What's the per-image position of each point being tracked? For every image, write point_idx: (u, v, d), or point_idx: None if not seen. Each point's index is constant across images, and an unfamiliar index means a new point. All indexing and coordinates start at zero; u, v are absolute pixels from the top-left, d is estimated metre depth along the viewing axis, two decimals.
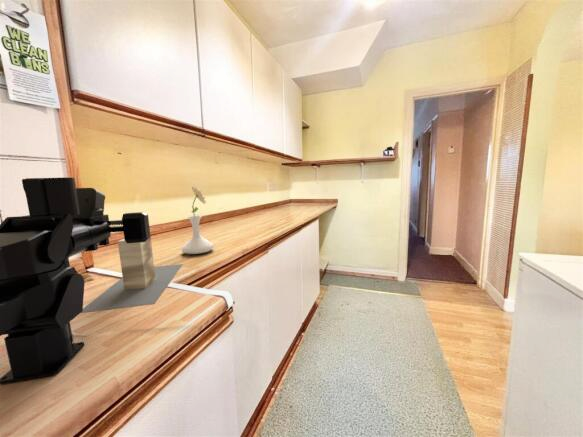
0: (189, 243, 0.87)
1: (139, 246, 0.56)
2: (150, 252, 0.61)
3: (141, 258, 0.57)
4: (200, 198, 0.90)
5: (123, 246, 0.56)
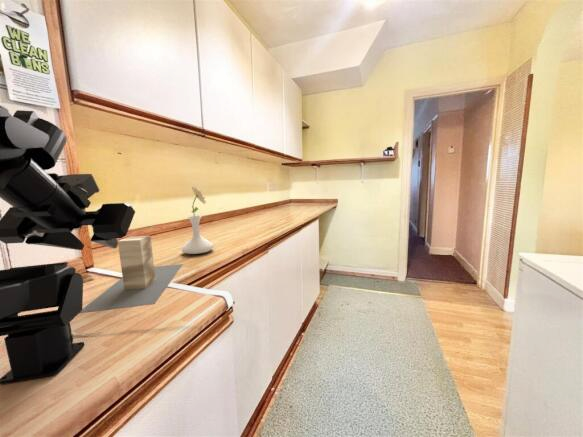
0: (189, 243, 0.87)
1: (139, 246, 0.56)
2: (150, 252, 0.61)
3: (141, 258, 0.57)
4: (200, 198, 0.90)
5: (123, 246, 0.56)
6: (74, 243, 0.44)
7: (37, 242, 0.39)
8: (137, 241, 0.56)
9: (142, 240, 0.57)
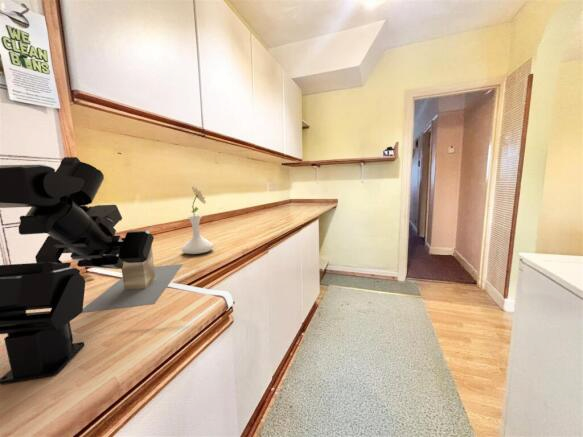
0: (189, 243, 0.87)
1: None
2: (150, 252, 0.61)
3: None
4: (200, 198, 0.90)
5: None
6: None
7: (87, 265, 0.45)
8: None
9: None
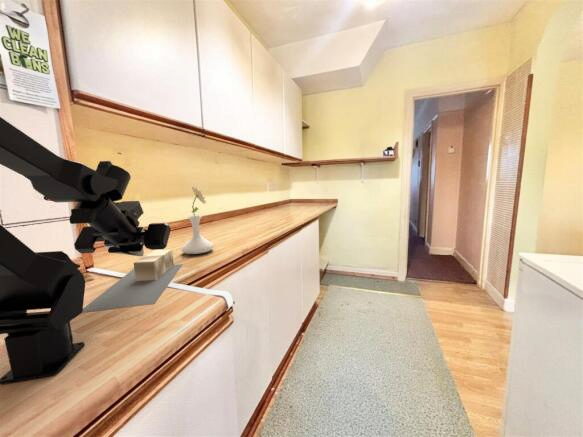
0: (189, 243, 0.87)
1: (169, 250, 0.73)
2: (167, 266, 0.71)
3: (165, 253, 0.70)
4: (200, 198, 0.90)
5: (157, 251, 0.72)
6: None
7: (116, 251, 0.54)
8: (169, 249, 0.74)
9: (172, 252, 0.74)
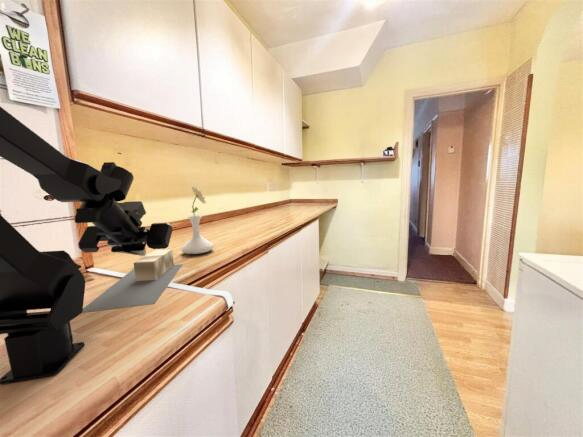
0: (189, 243, 0.87)
1: (169, 250, 0.73)
2: (167, 266, 0.71)
3: (165, 253, 0.70)
4: (200, 198, 0.90)
5: (157, 251, 0.72)
6: None
7: (119, 251, 0.55)
8: (169, 249, 0.74)
9: (172, 252, 0.74)
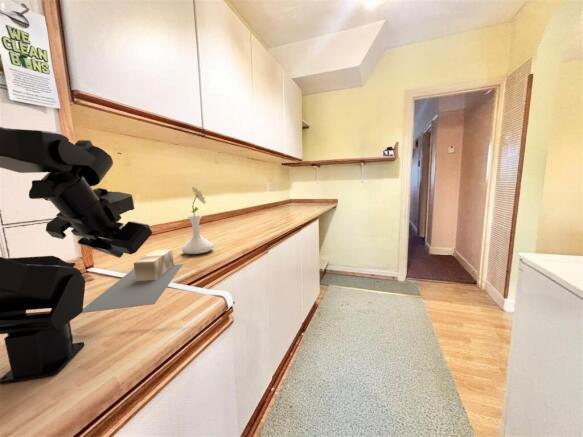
0: (189, 243, 0.87)
1: (169, 250, 0.73)
2: (167, 266, 0.71)
3: (165, 253, 0.70)
4: (200, 198, 0.90)
5: (157, 251, 0.72)
6: None
7: (85, 244, 0.46)
8: (169, 249, 0.74)
9: (172, 252, 0.74)
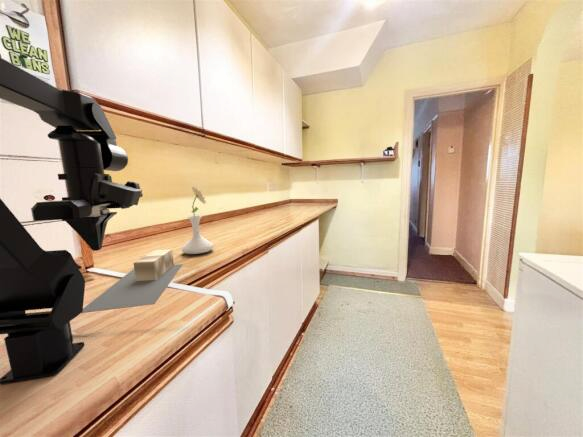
0: (189, 243, 0.87)
1: (169, 250, 0.73)
2: (167, 266, 0.71)
3: (165, 253, 0.70)
4: (200, 198, 0.90)
5: (157, 251, 0.72)
6: None
7: None
8: (169, 249, 0.74)
9: (172, 252, 0.74)
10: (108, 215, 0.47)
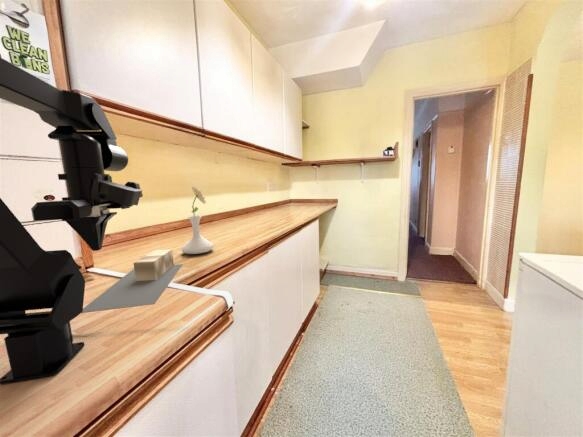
0: (189, 243, 0.87)
1: (169, 250, 0.73)
2: (167, 266, 0.71)
3: (165, 253, 0.70)
4: (200, 198, 0.90)
5: (157, 251, 0.72)
6: None
7: None
8: (169, 249, 0.74)
9: (172, 252, 0.74)
10: (108, 215, 0.47)
